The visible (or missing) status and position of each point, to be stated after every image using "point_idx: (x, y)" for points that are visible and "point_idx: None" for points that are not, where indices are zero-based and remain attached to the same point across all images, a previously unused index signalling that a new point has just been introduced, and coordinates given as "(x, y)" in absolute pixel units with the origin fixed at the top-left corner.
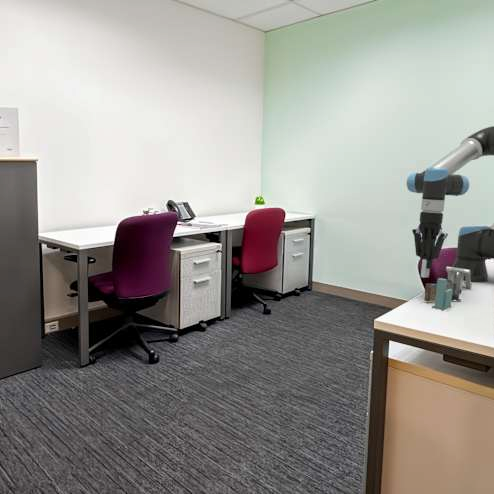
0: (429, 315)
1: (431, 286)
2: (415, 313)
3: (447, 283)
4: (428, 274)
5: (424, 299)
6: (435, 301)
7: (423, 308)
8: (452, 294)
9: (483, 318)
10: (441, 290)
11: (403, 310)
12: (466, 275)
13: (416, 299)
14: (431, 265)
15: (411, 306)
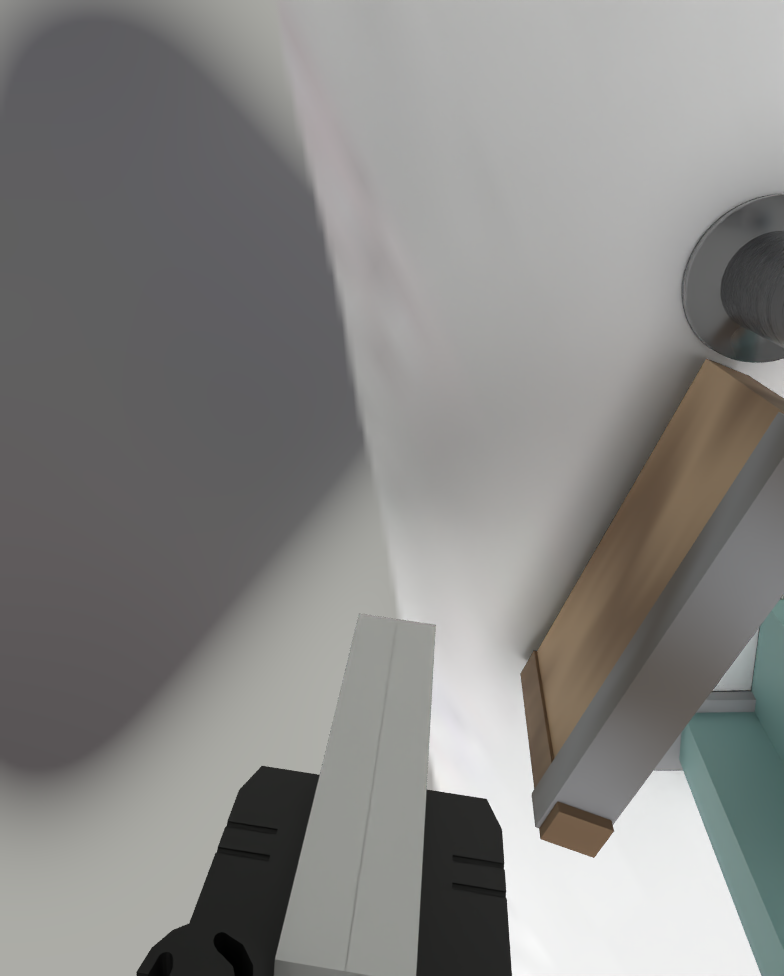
0: (720, 942)
1: (613, 802)
2: (616, 962)
3: (777, 541)
4: (431, 667)
5: (521, 679)
6: (698, 803)
7: None
8: (766, 336)
9: None
10: None
11: (515, 957)
12: None
13: (408, 618)
14: (500, 881)
15: (503, 842)
